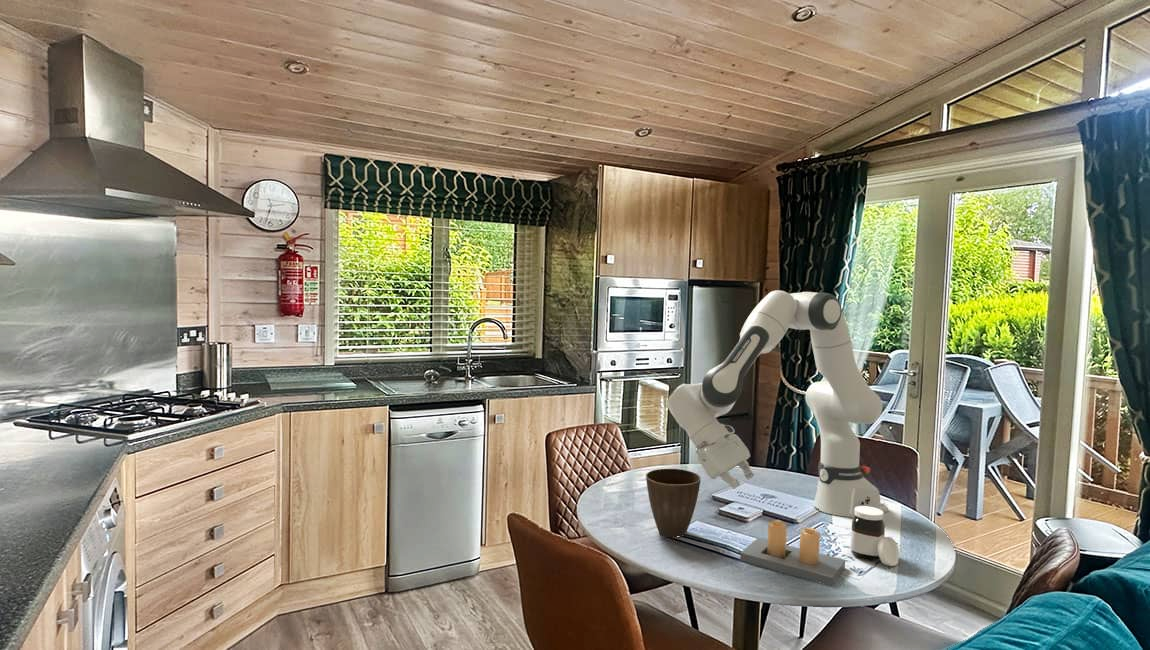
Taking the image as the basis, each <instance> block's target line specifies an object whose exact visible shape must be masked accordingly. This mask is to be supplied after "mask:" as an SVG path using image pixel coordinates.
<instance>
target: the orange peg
mask: <svg viewBox="0 0 1150 650" xmlns="http://www.w3.org/2000/svg"><path fill="white" fill-rule="evenodd" d="M767 540H768V545H767V555H770V556H774V557H777V558H781V559H785V558H786V557H785V556H786V545H787V525H786V523H783V521H782V520H780V519H776V520H772V521H770V522H768V523H767Z"/></svg>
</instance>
